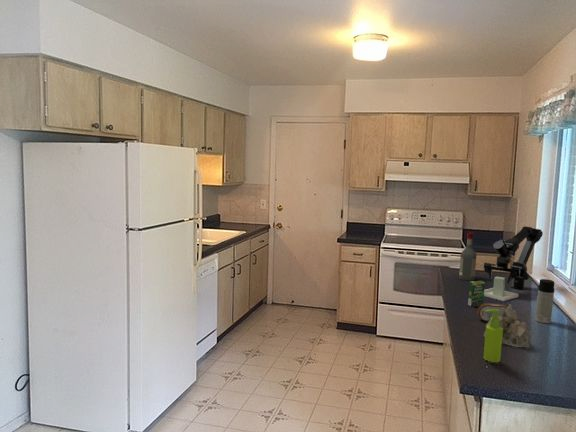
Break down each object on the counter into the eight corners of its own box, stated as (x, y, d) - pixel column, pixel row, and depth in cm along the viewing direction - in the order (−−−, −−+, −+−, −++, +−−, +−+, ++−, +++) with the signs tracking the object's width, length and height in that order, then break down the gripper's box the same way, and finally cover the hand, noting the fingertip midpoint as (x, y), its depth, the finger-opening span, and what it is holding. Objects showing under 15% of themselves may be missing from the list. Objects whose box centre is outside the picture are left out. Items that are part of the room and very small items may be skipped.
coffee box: (470, 307, 251) (472, 282, 249) (467, 305, 254) (469, 281, 252) (483, 306, 253) (485, 281, 252) (479, 304, 256) (481, 280, 255)
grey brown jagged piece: (479, 333, 212) (484, 300, 209) (516, 336, 212) (521, 303, 209) (493, 349, 197) (499, 314, 194) (533, 352, 197) (540, 317, 194)
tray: (492, 290, 285) (493, 287, 284) (518, 297, 273) (518, 293, 272) (478, 294, 276) (478, 291, 275) (503, 301, 263) (504, 297, 263)
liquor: (474, 278, 314) (478, 232, 311) (473, 281, 306) (477, 234, 303) (459, 276, 318) (463, 231, 315) (458, 279, 310) (462, 233, 306)
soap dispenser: (477, 357, 185) (482, 307, 183) (495, 357, 186) (499, 307, 184) (485, 364, 180) (489, 312, 177) (503, 364, 180) (507, 312, 178)
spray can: (549, 320, 234) (553, 279, 232) (552, 324, 228) (556, 283, 225) (534, 318, 236) (538, 278, 234) (536, 322, 230) (540, 281, 227)
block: (494, 293, 277) (495, 276, 276) (503, 295, 275) (505, 277, 274) (492, 295, 273) (494, 278, 272) (502, 296, 271) (503, 279, 269)
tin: (508, 321, 230) (510, 304, 229) (511, 323, 227) (512, 306, 226) (476, 319, 232) (477, 302, 231) (478, 321, 229) (479, 304, 228)
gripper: (485, 248, 279) (480, 271, 272) (521, 253, 269) (516, 276, 261) (487, 260, 287) (482, 282, 279) (522, 264, 277) (517, 287, 269)
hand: (498, 281), depth 272 cm, fingers open, 9 cm apart
